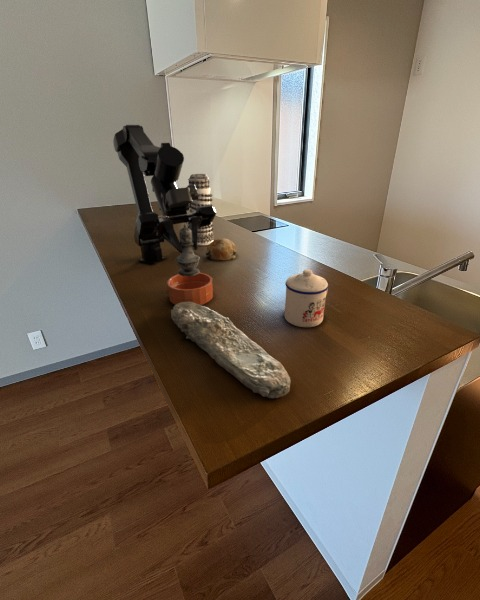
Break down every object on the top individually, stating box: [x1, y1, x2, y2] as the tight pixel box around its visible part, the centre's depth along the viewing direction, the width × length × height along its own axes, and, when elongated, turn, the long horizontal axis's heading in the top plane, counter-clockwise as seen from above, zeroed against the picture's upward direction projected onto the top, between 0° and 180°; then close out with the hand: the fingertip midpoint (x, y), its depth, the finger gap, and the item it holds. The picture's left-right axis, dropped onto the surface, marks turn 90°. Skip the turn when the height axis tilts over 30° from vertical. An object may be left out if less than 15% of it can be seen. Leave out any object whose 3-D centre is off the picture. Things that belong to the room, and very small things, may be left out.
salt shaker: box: [175, 223, 201, 276], centre depth 76 cm, size 6×6×12 cm
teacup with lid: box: [284, 268, 329, 328], centre depth 71 cm, size 12×9×12 cm
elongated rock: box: [170, 302, 292, 399], centre depth 62 cm, size 35×5×10 cm
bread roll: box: [205, 237, 237, 262], centre depth 109 cm, size 10×10×8 cm
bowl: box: [166, 272, 214, 306], centre depth 81 cm, size 11×11×5 cm
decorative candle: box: [187, 173, 215, 246], centre depth 120 cm, size 9×9×25 cm
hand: (188, 250), depth 75 cm, fingers closed on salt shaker, 3 cm apart
